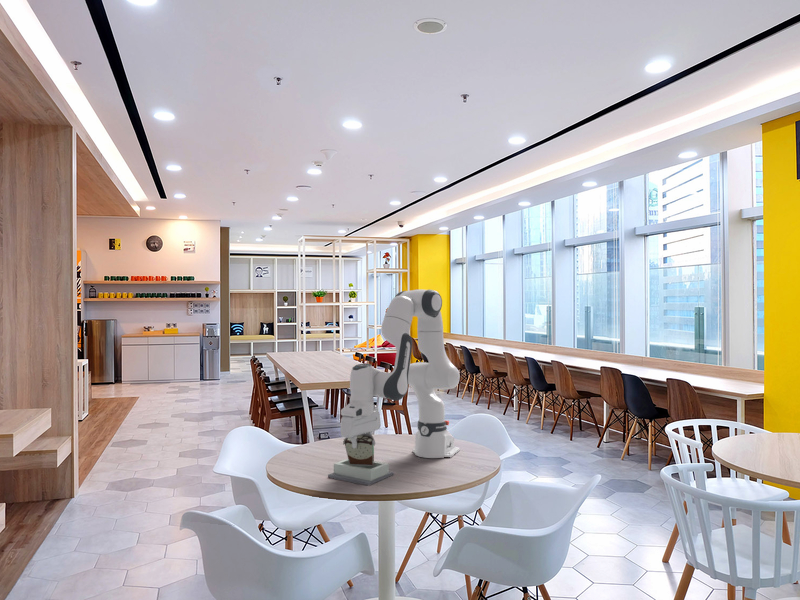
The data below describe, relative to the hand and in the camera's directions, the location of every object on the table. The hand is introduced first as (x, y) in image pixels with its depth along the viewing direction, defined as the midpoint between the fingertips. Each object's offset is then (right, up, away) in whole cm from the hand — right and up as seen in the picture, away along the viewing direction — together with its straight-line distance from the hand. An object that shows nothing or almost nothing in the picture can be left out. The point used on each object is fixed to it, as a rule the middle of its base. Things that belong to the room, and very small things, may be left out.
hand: (361, 445), depth 199 cm
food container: (+1, -6, +2) cm, 7 cm away
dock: (0, -11, 0) cm, 11 cm away
